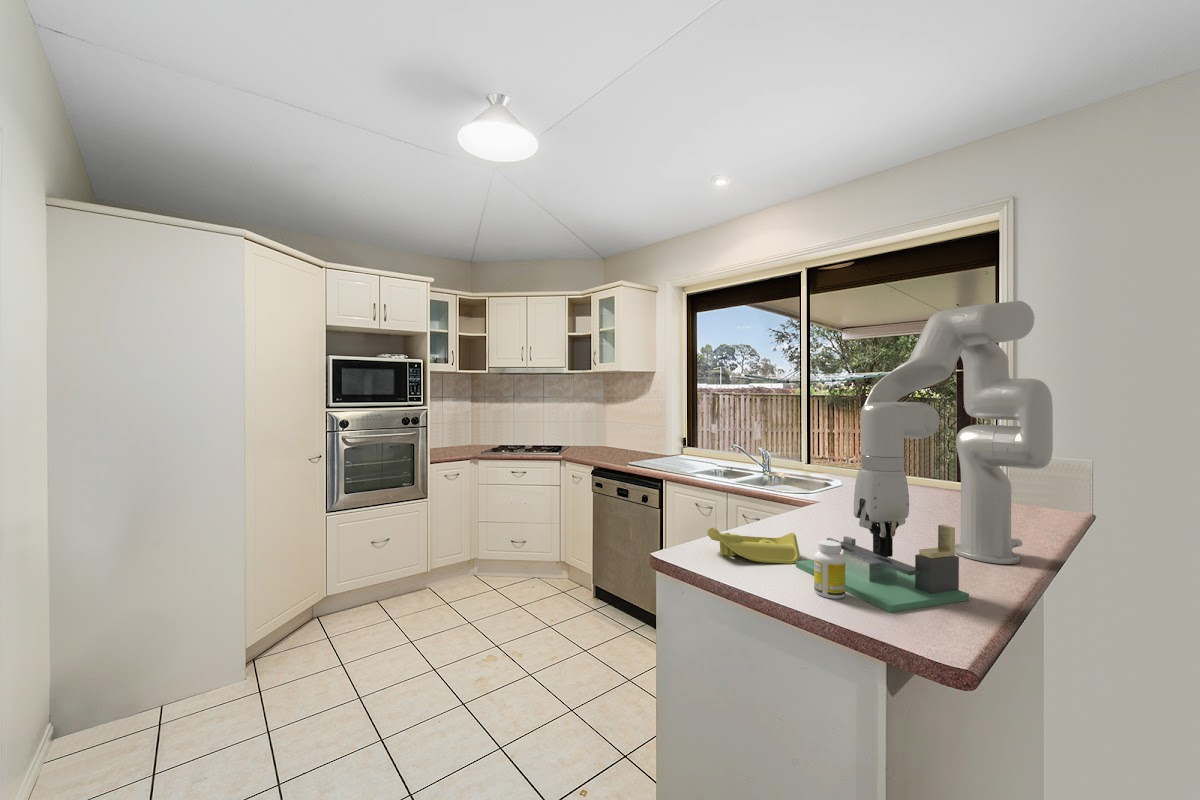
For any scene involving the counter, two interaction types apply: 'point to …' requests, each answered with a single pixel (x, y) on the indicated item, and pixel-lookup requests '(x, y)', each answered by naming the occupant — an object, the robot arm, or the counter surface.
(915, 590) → the board
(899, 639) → the counter surface
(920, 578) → the block
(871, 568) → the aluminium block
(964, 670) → the counter surface
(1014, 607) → the counter surface
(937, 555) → the bracket
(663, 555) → the counter surface
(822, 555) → the supplement bottle
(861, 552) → the dark grey flat bar
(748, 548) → the plastic component
